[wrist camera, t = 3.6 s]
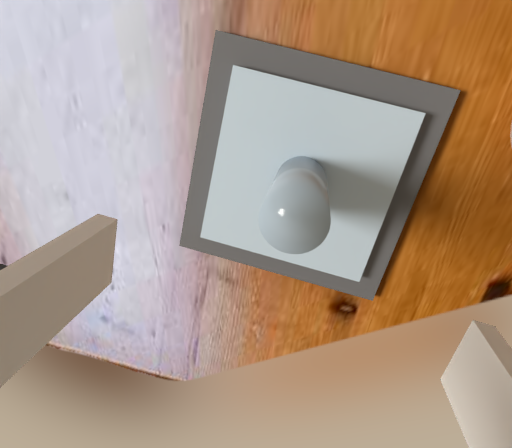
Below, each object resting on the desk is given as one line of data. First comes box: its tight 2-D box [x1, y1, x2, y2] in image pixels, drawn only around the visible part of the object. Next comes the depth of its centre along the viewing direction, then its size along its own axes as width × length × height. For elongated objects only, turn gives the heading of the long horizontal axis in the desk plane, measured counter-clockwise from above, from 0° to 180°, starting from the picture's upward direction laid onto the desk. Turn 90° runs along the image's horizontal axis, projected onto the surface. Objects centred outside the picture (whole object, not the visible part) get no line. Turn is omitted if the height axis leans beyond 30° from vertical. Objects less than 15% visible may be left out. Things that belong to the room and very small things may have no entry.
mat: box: [180, 30, 461, 301], centre depth 31 cm, size 18×18×1 cm
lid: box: [200, 65, 426, 282], centre depth 25 cm, size 14×14×10 cm
